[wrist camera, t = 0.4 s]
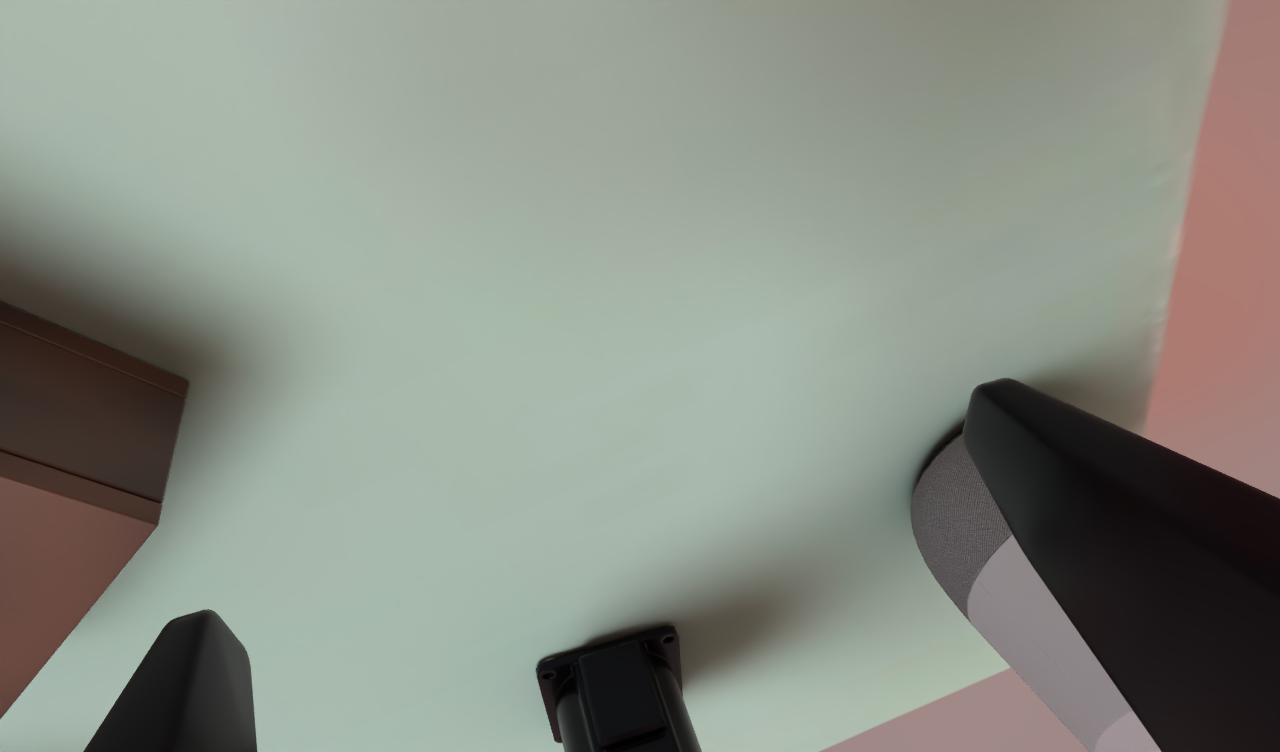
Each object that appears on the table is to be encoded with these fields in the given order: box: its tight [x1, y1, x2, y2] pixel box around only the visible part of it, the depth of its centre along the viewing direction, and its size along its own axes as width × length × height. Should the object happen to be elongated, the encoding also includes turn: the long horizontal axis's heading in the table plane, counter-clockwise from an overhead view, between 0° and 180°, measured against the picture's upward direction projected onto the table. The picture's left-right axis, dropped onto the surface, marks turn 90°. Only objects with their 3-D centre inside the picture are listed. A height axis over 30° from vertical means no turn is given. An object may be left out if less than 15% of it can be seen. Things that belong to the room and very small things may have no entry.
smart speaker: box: [911, 431, 1161, 752], centre depth 31 cm, size 10×9×14 cm
